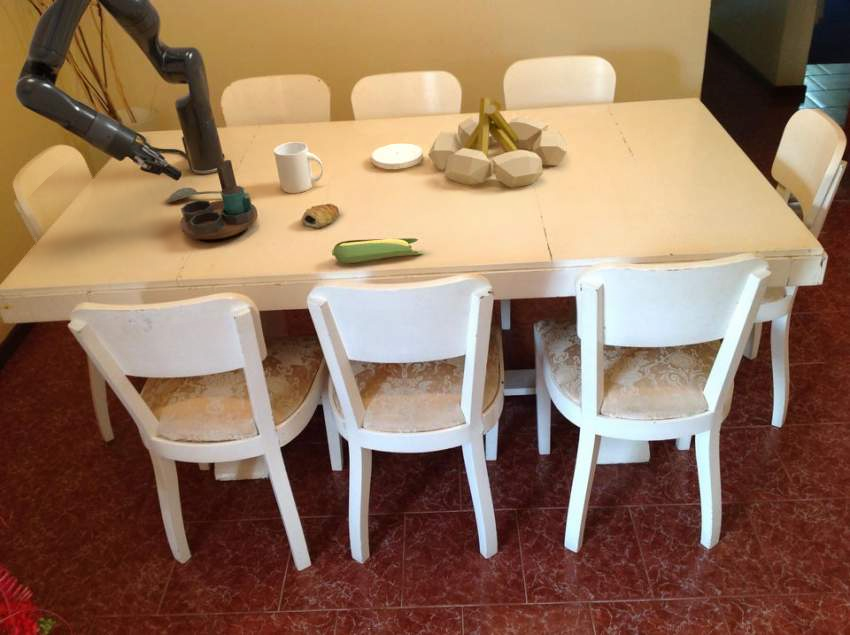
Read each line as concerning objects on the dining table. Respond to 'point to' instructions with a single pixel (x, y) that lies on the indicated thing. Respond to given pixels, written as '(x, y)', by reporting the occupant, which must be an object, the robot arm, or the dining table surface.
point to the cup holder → (219, 210)
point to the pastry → (320, 215)
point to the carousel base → (224, 238)
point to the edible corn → (373, 249)
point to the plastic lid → (397, 156)
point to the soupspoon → (191, 193)
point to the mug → (295, 167)
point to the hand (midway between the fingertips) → (179, 176)
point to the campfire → (516, 134)
